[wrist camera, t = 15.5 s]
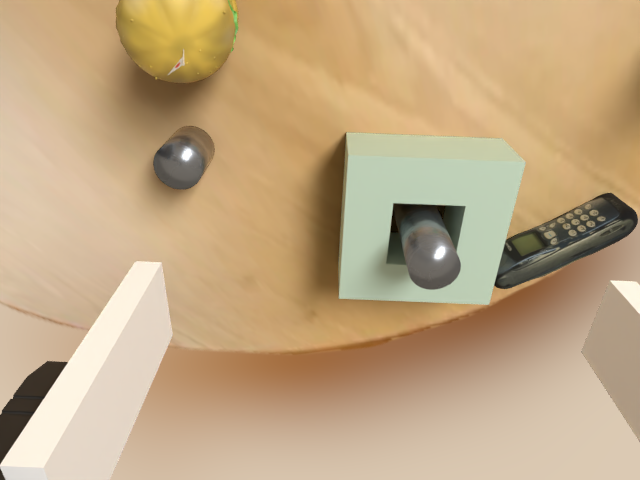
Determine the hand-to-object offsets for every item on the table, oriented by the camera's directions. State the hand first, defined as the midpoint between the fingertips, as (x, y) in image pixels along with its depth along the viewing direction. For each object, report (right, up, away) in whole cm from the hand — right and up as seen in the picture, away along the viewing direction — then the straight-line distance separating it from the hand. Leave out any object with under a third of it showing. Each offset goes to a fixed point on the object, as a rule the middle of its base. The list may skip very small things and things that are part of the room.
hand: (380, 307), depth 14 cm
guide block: (+7, +5, +32) cm, 33 cm away
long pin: (+7, +5, +32) cm, 33 cm away
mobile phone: (+20, +3, +34) cm, 39 cm away
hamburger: (-11, +20, +24) cm, 34 cm away
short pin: (-14, +11, +30) cm, 34 cm away
